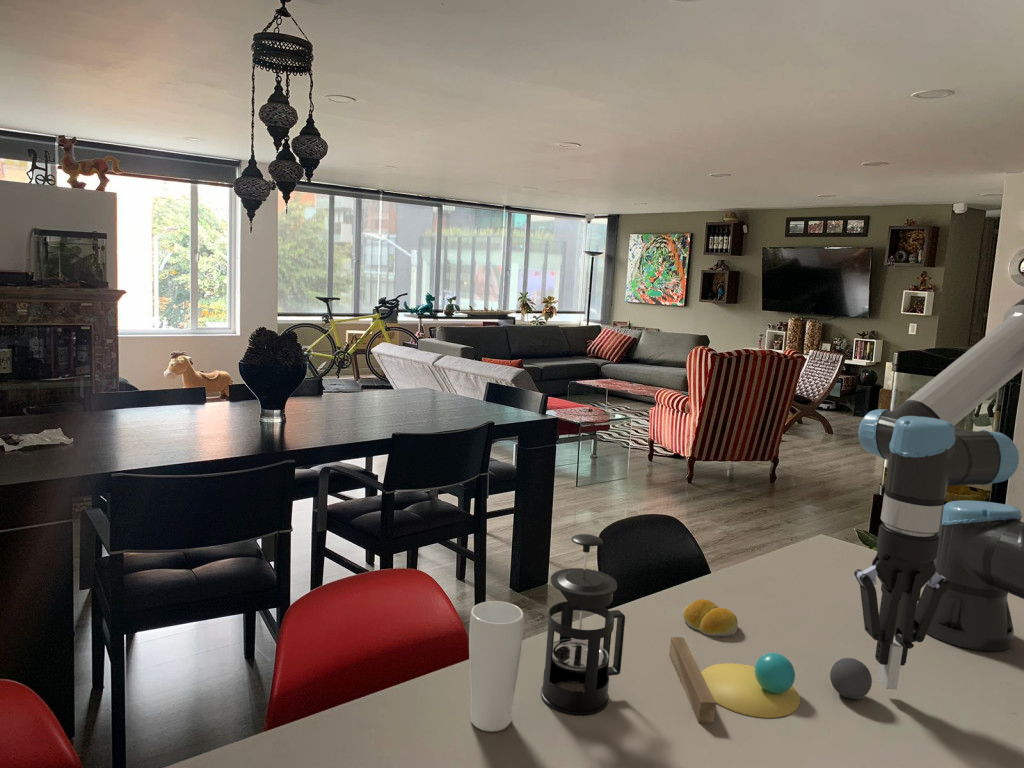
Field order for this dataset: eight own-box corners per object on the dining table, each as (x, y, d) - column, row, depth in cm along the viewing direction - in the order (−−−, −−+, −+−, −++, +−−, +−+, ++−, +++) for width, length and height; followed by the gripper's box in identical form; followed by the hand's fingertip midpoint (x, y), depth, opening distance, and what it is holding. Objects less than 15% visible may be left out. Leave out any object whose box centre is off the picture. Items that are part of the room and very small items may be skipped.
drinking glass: (488, 700, 103) (494, 595, 101) (527, 721, 99) (535, 612, 97) (453, 721, 98) (459, 611, 96) (493, 744, 94) (500, 629, 92)
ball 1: (780, 640, 112) (745, 652, 112) (795, 659, 107) (757, 672, 107) (791, 673, 113) (755, 685, 113) (805, 694, 107) (768, 706, 108)
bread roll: (719, 643, 124) (722, 620, 124) (674, 622, 131) (677, 600, 130) (747, 630, 130) (750, 608, 129) (703, 610, 136) (705, 589, 136)
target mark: (778, 666, 117) (779, 665, 117) (815, 720, 103) (815, 718, 103) (688, 662, 117) (688, 661, 117) (713, 715, 103) (713, 713, 103)
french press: (552, 721, 99) (564, 552, 96) (526, 683, 108) (537, 527, 105) (632, 709, 103) (646, 546, 100) (601, 673, 112) (613, 523, 109)
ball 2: (831, 646, 112) (817, 679, 113) (850, 667, 106) (835, 702, 107) (865, 655, 112) (851, 688, 113) (885, 676, 107) (870, 710, 108)
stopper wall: (681, 655, 119) (683, 637, 119) (713, 723, 101) (715, 702, 101) (669, 654, 119) (670, 636, 118) (698, 722, 101) (700, 701, 101)
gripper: (940, 521, 111) (917, 673, 114) (851, 516, 110) (831, 668, 114) (971, 539, 103) (946, 701, 107) (876, 534, 103) (854, 696, 107)
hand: (886, 684), depth 110 cm, fingers closed
